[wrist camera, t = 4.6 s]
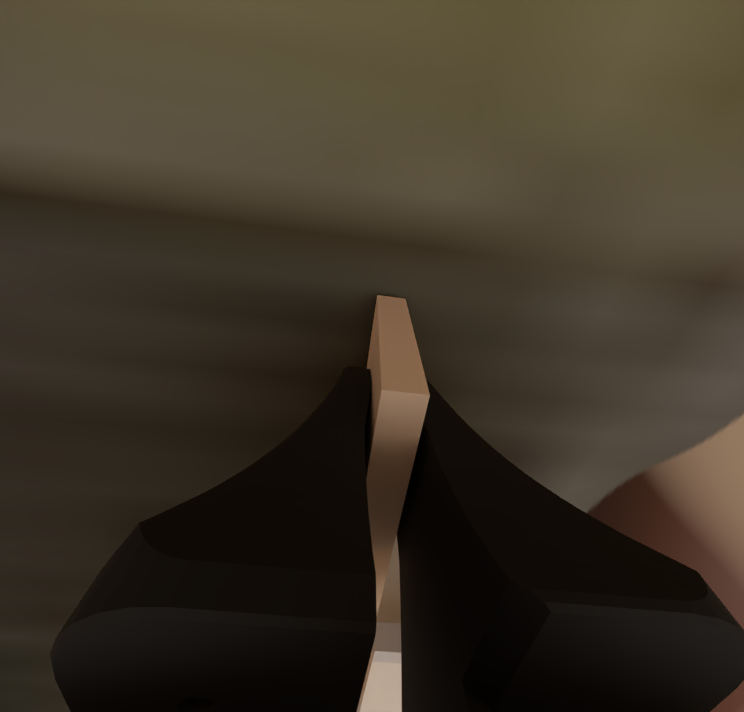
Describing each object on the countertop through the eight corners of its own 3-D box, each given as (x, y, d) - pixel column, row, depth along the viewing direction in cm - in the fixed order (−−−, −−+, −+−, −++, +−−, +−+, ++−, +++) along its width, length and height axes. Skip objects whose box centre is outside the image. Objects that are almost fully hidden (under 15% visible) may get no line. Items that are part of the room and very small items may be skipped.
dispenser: (466, 659, 20) (490, 784, 16) (193, 640, 19) (146, 767, 15) (523, 536, 16) (576, 664, 12) (174, 504, 15) (101, 631, 11)
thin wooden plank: (351, 597, 17) (344, 752, 12) (333, 595, 17) (319, 750, 12) (405, 298, 11) (429, 395, 6) (376, 294, 11) (381, 389, 6)
